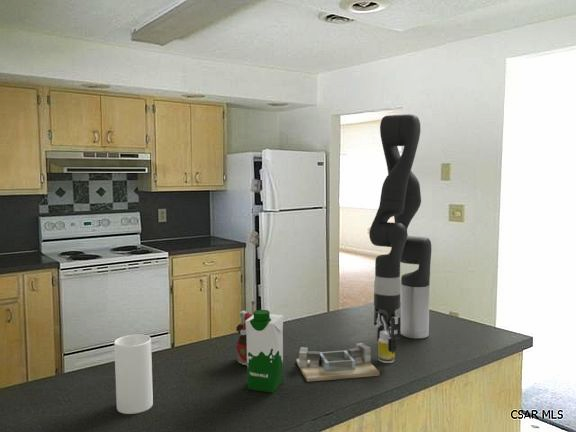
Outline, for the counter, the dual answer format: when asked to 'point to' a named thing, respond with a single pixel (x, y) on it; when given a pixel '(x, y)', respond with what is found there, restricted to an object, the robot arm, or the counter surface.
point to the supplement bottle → (384, 349)
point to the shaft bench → (336, 364)
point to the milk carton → (264, 351)
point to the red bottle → (243, 336)
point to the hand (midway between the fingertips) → (386, 346)
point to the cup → (133, 373)
